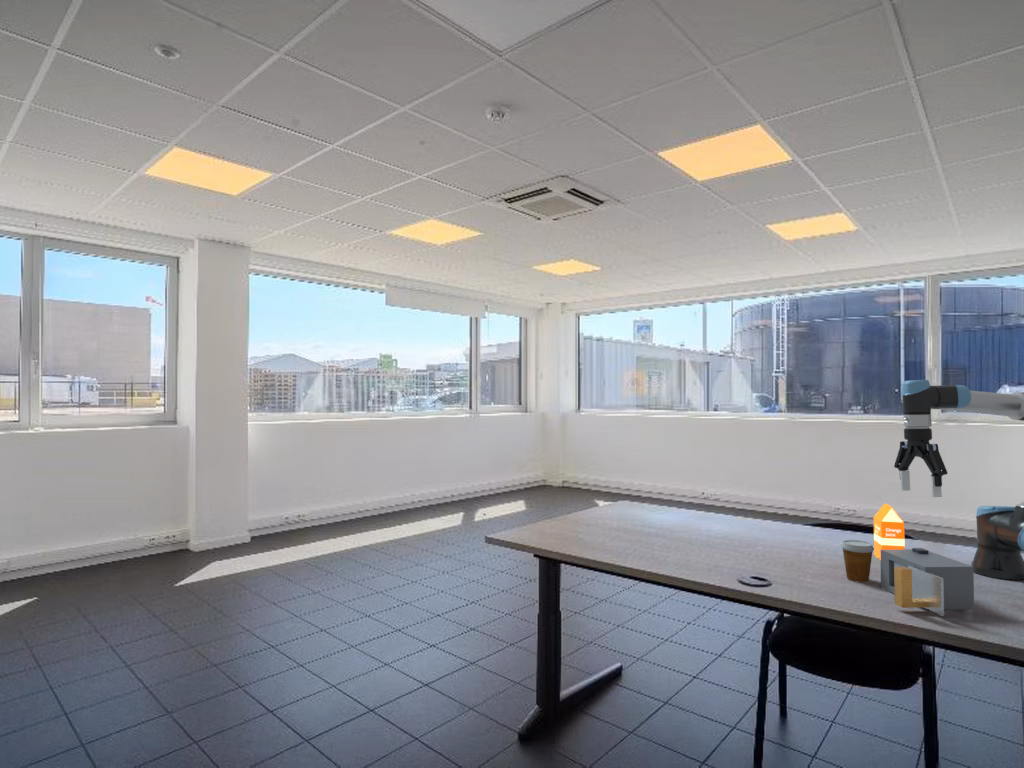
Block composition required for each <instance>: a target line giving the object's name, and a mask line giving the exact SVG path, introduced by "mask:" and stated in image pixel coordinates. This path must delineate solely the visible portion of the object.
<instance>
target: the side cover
mask: <svg viewBox="0 0 1024 768" xmlns="http://www.w3.org/2000/svg"><path fill="white" fill-rule="evenodd" d="M894 575H895V594H894V604H895V605H896V606H898V607H899V608H902V609H903V608H907V609H908V608H909V609H910V608H916V609H917V608H918V609H919V608H921V607H925V608H927V609H929V611H931V612H933V613H935V614H937V615H939V616H941V617H942V616H945V610H944V580H943V578H941V577H939V576H936V575H934V574H931V573H929V572H926V571H924V570H921V569H919V568H916V567H914V566H911V565H908V568H907V567H894Z"/></svg>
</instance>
